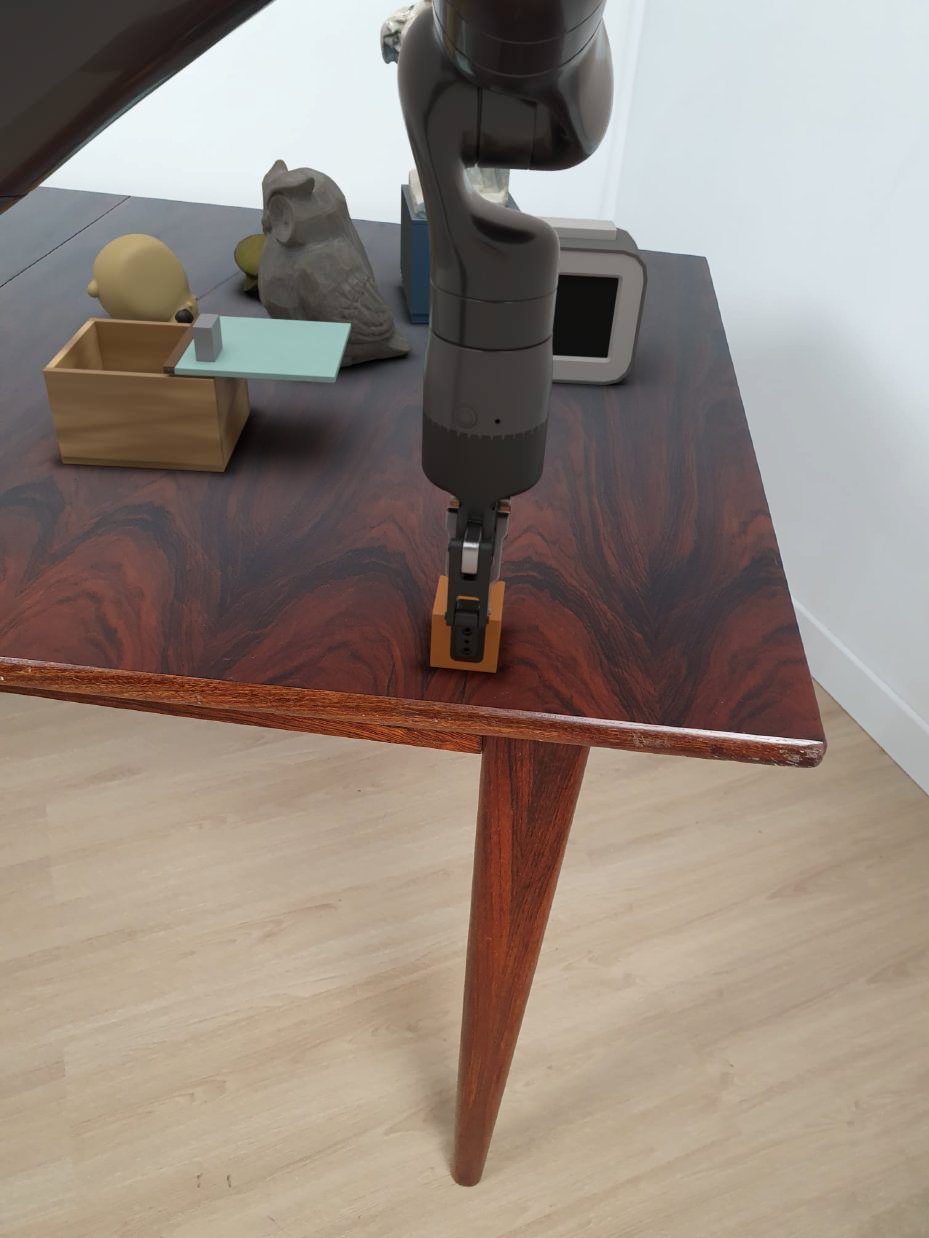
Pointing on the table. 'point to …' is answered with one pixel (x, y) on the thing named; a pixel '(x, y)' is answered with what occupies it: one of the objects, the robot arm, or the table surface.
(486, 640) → the block
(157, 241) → the toy pig
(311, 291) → the figurine
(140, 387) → the maple box
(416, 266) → the sculpture
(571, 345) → the alarm clock
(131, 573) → the table surface
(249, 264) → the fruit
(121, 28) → the robot arm
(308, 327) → the mint sliding box lid
